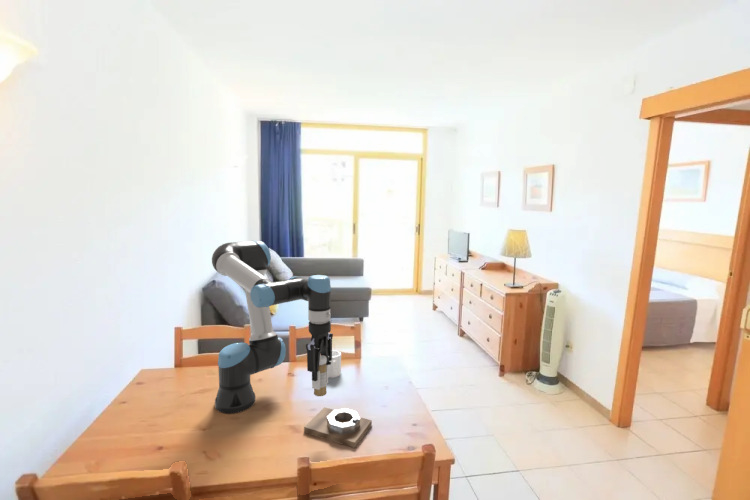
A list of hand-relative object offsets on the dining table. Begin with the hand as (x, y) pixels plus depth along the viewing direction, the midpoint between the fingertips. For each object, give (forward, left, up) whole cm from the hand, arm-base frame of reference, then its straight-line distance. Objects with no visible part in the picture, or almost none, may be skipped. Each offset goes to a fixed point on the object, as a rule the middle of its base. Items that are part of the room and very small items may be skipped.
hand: (320, 385), depth 134 cm
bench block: (+5, +4, -18) cm, 19 cm away
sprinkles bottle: (0, 0, -3) cm, 3 cm away
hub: (+7, +4, -16) cm, 18 cm away
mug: (-17, +39, -18) cm, 46 cm away
